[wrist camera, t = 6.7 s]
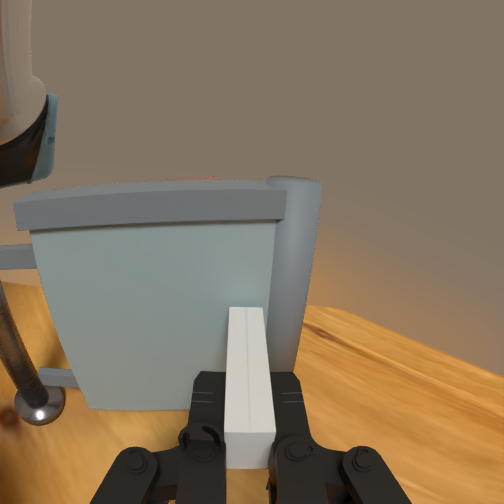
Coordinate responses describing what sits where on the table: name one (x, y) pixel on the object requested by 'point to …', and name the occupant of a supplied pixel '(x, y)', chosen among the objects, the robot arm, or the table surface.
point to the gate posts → (32, 367)
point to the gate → (166, 279)
